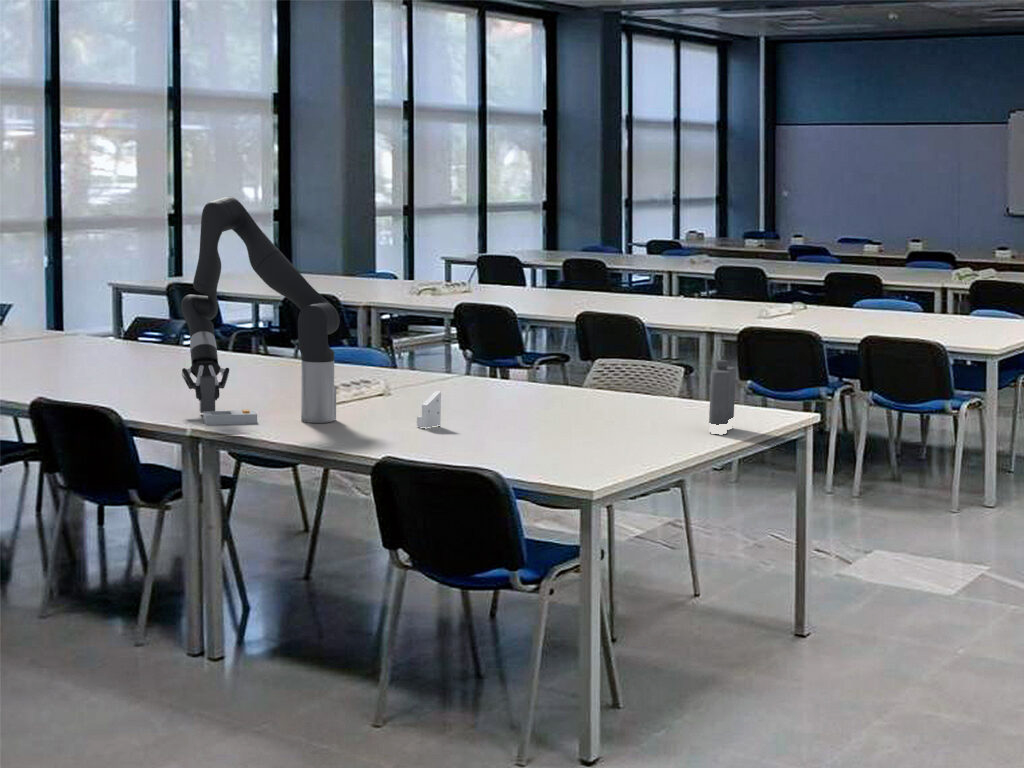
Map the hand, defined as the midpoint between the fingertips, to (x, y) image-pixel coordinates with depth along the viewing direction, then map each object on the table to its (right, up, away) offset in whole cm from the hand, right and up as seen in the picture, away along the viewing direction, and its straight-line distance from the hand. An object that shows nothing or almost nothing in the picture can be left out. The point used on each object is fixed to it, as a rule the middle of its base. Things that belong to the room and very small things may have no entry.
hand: (208, 398), depth 429 cm
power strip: (+8, -7, -8) cm, 13 cm away
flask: (+145, -9, -1) cm, 145 cm away
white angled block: (+63, -8, -6) cm, 64 cm away
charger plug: (-1, -4, +2) cm, 4 cm away
